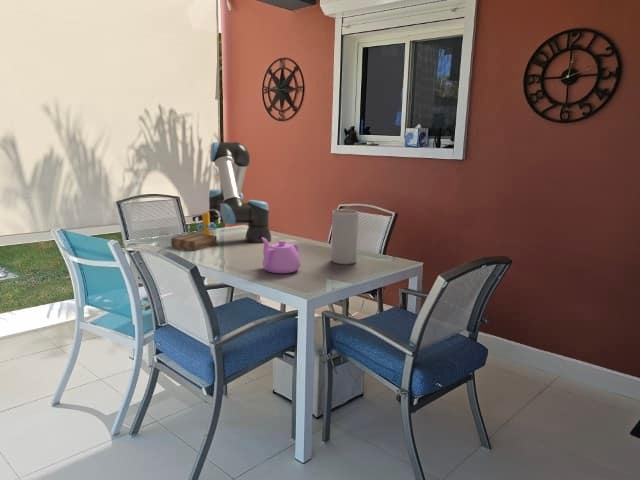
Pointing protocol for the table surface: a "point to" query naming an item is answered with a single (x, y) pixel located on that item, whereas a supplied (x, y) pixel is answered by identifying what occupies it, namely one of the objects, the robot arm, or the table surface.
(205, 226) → the orange blue tall piece
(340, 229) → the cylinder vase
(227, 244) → the table surface
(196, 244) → the walnut block
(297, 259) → the teapot
